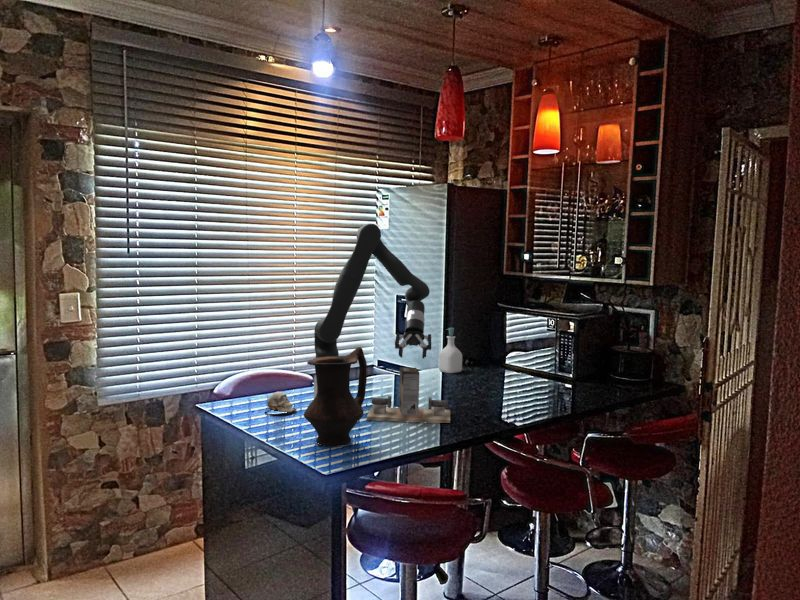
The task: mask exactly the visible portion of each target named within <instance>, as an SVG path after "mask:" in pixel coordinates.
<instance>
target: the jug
mask: <svg viewBox="0 0 800 600" xmlns="http://www.w3.org/2000/svg"><path fill="white" fill-rule="evenodd" d="M306 362H307V365H310V366H314V371H315V376H316V380H317V395H316V397H315V399H314V398H313V400H312V401H311V402H310V403H309V405H308V406H307V407H306V409H305V411H304V412H303V417H304V418H305V419H306V421H307V422H308V423H309V424H311V426H312V428H314V431H316V433H317V438H316V440H315V443H316V442H317V443H319V444H321V445H320V446H322V445H325V446H324V447H328V446H331V447H334V446H335V447H342V446H343V445H345V446H346V445H349V444H350V443H351V442H352V438H351V436H350V434H351V433H350V432H352V430H353V428H354V427H355V426H356V425H357V424H358V422H359V421H360V420H361V419H362V417H363V415H364V410H363V403H364V401H365V398H366V389H367V380H368V379H367V377H368V371H367V368H368V365H367V363H368V362H367V360H366V357H365V354H364V350H363V348H362V347H361V346H358V347H356V348H355V349H354V350H353V351H351V352H350V353H349V354H347V355H339V356H335V357H319V358H316V357H314V358H313V359H308V360H307V361H306ZM357 363H358V367H359V368H358V369H359V372H358V373H359V374H358V385H357V391H356V395H355V397H354V396H353V394H352V393H351V390H350V385H351V382H350V381H351V379H350V372H351V366H352V365H355V364H357ZM317 443H316V444H317ZM319 444H318V445H319Z"/></svg>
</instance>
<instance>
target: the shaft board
mask: <svg viewBox="0 0 800 600" xmlns="http://www.w3.org/2000/svg"><path fill="white" fill-rule="evenodd" d="M448 402H449V400H443V399H442V400H440V399H438V400H437V399H436V400H435V399H433V398H432V396H430V397H428V406H427V407H428V408H418V415H404V416H402V415H401V412H400V410H399V407H392V395H387V398H386V397H371V405H373V406H371V407H370V409H369V412H367V415H366V421H367V420H376V422H390V421H409V422H408V423H414V422H426V423H425V424H438V423H450V424H451V409H446V408H448V405H449V403H448ZM432 407H433V408H432Z"/></svg>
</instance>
